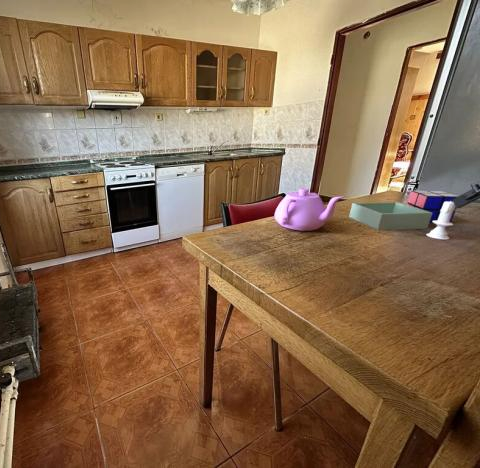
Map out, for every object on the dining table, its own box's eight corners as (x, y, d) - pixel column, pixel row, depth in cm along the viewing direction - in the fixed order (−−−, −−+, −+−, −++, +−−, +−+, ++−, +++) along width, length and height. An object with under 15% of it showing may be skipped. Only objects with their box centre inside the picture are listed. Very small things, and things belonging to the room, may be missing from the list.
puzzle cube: (418, 222, 96) (427, 195, 92) (402, 214, 105) (410, 190, 101) (451, 223, 94) (462, 196, 90) (432, 215, 103) (441, 190, 99)
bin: (391, 215, 104) (395, 201, 102) (427, 228, 90) (432, 212, 87) (349, 217, 104) (352, 203, 102) (377, 229, 90) (382, 214, 88)
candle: (448, 241, 79) (463, 203, 75) (425, 236, 83) (438, 200, 79) (449, 236, 83) (464, 200, 78) (426, 232, 86) (439, 197, 82)
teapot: (317, 243, 80) (326, 200, 75) (260, 225, 97) (264, 189, 92) (350, 228, 91) (360, 190, 86) (293, 215, 108) (299, 182, 103)
